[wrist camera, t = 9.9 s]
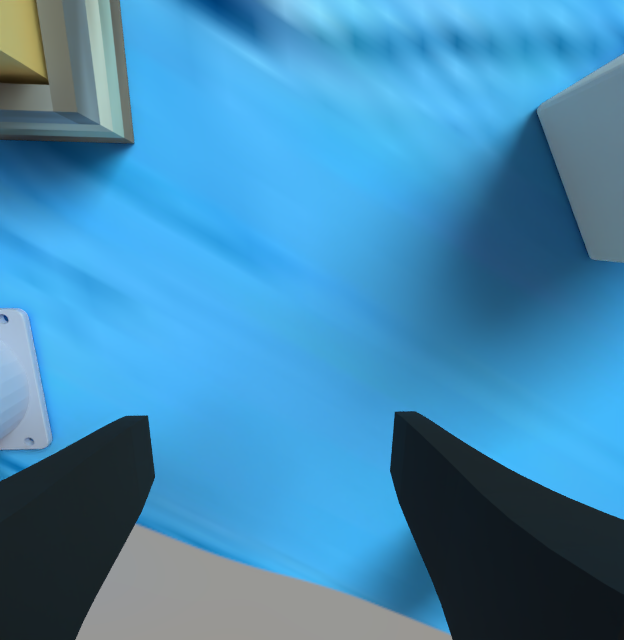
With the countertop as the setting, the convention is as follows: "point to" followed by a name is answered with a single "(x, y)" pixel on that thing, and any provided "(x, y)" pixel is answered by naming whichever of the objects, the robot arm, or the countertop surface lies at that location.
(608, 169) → the soap bottle
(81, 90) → the tower base
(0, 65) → the ochre block
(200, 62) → the countertop surface
